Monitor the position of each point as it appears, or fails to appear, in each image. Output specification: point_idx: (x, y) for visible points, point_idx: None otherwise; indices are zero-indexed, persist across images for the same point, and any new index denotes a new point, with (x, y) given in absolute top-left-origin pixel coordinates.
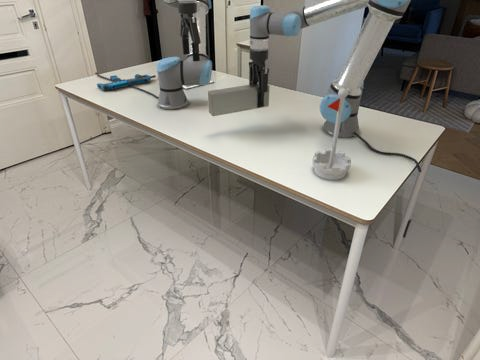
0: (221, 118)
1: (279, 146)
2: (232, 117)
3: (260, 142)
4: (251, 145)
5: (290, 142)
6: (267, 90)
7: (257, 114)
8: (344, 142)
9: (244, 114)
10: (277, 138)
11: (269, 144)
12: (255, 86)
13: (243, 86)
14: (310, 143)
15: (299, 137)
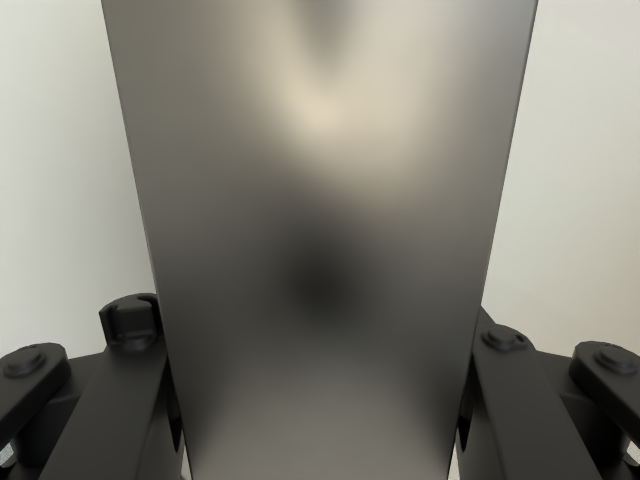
0: (593, 4)
1: (3, 181)
2: (551, 103)
3: (80, 97)
4: (46, 10)
5: (45, 262)
6: (22, 465)
7: (486, 283)
8: (3, 457)
9: (540, 209)
10: (112, 224)
11: (40, 138)
12: (254, 369)
13: (432, 38)
14: (15, 341)
15: (95, 331)
